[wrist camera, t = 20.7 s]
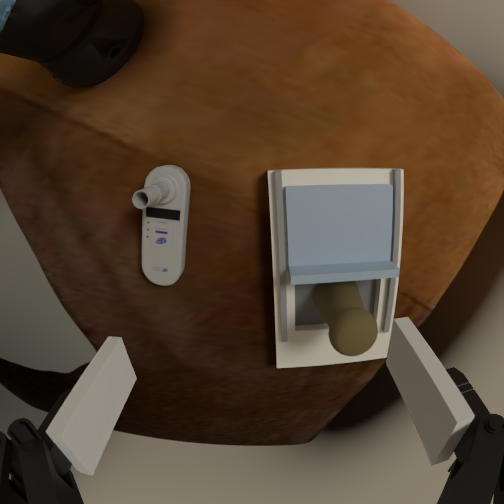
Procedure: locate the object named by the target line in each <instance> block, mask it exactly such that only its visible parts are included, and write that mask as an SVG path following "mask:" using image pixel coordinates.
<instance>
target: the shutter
mask: <svg viewBox="0 0 504 504" xmlns="http://www.w3.org/2000/svg"><path fill="white" fill-rule="evenodd" d="M285 195H286V216H287V241H288V271H289V277H290V283H291V285H297V284H314V283H330V282H344V281H358V280H371V279H384V278H396V277H399V270H400V269H399V268H398V267H397V266H396V265H395V264H394V263H393V262H391V261H390V255H391V239H392V215H393V185H391V184H339V185H303V186H285Z"/></svg>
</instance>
